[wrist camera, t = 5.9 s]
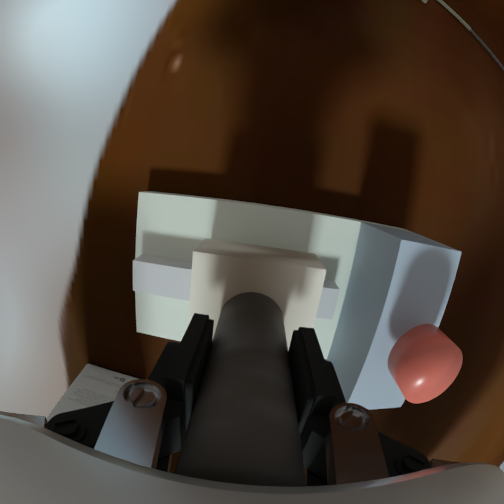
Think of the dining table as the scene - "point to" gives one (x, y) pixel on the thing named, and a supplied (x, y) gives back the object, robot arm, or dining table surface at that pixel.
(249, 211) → the rail board
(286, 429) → the carriage
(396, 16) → the dining table surface
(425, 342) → the button
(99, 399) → the skincare box
